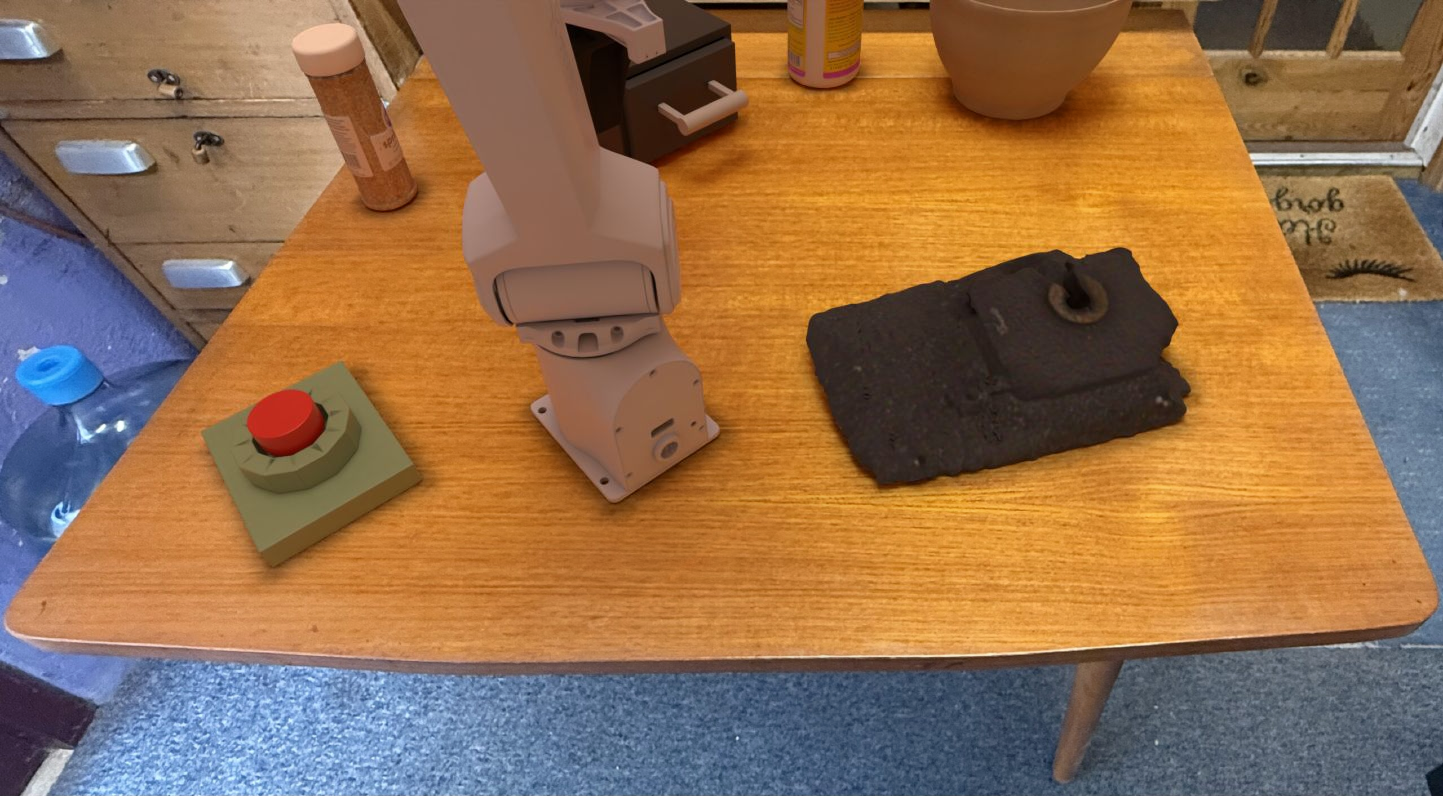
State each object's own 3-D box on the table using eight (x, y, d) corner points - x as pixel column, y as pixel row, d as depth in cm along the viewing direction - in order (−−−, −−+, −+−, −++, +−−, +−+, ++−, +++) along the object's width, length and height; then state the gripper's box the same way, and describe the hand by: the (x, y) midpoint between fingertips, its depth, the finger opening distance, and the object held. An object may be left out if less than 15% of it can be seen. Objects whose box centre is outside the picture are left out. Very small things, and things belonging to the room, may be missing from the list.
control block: (423, 480, 49) (402, 444, 46) (273, 568, 45) (241, 534, 43) (351, 377, 55) (329, 339, 52) (214, 448, 51) (183, 412, 49)
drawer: (770, 139, 69) (769, 60, 64) (670, 190, 65) (660, 110, 60) (654, 68, 78) (645, -6, 73) (560, 108, 74) (543, 34, 69)
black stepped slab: (782, 321, 56) (782, 267, 52) (1079, 256, 59) (1098, 200, 55) (863, 503, 46) (870, 452, 43) (1216, 414, 49) (1251, 359, 45)
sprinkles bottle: (426, 199, 68) (364, 37, 57) (372, 220, 66) (298, 58, 56) (408, 173, 70) (344, 14, 60) (355, 193, 69) (281, 33, 59)
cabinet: (735, 121, 73) (731, 24, 66) (627, 173, 68) (610, 75, 62) (646, 66, 80) (634, -26, 74) (543, 110, 76) (521, 16, 69)
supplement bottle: (868, 61, 78) (880, -87, 69) (846, 96, 75) (855, -56, 65) (801, 51, 80) (804, -95, 71) (776, 84, 77) (775, -65, 67)
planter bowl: (1084, 49, 78) (1120, -77, 69) (1120, 145, 67) (1167, 10, 59) (910, 50, 79) (925, -73, 71) (918, 143, 69) (936, 12, 61)
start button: (334, 434, 48) (322, 415, 46) (273, 467, 46) (258, 448, 45) (312, 398, 49) (299, 379, 48) (252, 429, 48) (237, 410, 47)
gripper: (701, -84, 43) (716, 146, 53) (559, -144, 51) (596, 66, 61) (586, -44, 41) (625, 190, 51) (456, -115, 48) (512, 100, 59)
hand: (603, 125), depth 56 cm, fingers closed
